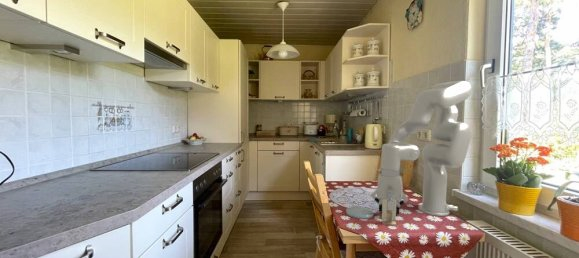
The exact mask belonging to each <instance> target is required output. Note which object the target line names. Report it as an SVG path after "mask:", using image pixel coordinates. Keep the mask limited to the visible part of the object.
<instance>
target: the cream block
mask: <svg viewBox="0 0 579 258" xmlns="http://www.w3.org/2000/svg"><path fill="white" fill-rule="evenodd" d="M386 216H387V199H382V214H381V220H386ZM396 219H397V216H396V200H395V211H392V221H395V222H396V221H397V220H396Z"/></svg>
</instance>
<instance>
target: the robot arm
mask: <svg viewBox="0 0 579 258" xmlns="http://www.w3.org/2000/svg"><path fill="white" fill-rule="evenodd" d="M471 94H472V86H471V83H470V82H469V81H466V80H457V81H456V80H455V81H447V82H441V83H436V84H434V85H433V86H432V87H431V89H426V90H425V89H424V90H423V91H421V92H419V94H418V95H417V96H416V99H415V102H414V104H413V107H412V108H411V111H410V113H409V115H408V117H407V119H406V120H405V121H404V122H403V123H401V124H400V125H399V126H398V127H396V129H395V130H394V131H393V133H392V134H391V137H390V138H389V141H388V143H384V144H382V146H381V162H380V163H381V165H380V168H377V173H380V174H379V175H378V178H377V186H376V189H375V190H374V191H373V192H372V193H371V194H370V197H371V198H372V199H373V200H374V201H375V202H376V203H377V204H378V212H379V213H380V215H382V199H387V190H393V191H394V198H395V200H396V217H398V215H400V208H401V206H403V205H404V204H405V203H407V202H408V201H409V197H408V196H407V195H406V194H405V192H403V188H404V186H403V178H402V176H401V175H400V173H401V161H403V162H413V161H416V160H417V159H418V158H419V157H420V154H421V157H422V162H423V163H422V164H423V180H422V181H423V182H422V183H423V185H422V204H420V205H418V210H419V211H420V212H422V213H425V214H427V215H430V216H438V217H446V216H449V215H450V211H455V212H458V211H459V208H458V206H456V205H454V204H448V203H447V187H448V186H447V185H448V183H447V182H448V173H447V169H446V167H447V168H453V169H458V168H460V167H461V166H462V165H463V164H464V163H465V159H466V157H467V153H468V150H469V146H470V142H471V138H472V129H471V127H470V125H469V124H468V123H466V122H463V121H458V117H459V109H458V107H457V105H458V104H459V103H461V102H464V101H466V100H467V99H469V98H470V96H471ZM436 109H437V110H436ZM435 110H436V111H437V112H436V117H435V120H434V122H433V123H434V124H433V126H432V131H431V137H432V139H433V140H434V141H437V142H441V143H435V142H434V143H427V144H426V145H425V146H424V147H423V149H422V151H421V150H420V148H419V147H418V146H417V145H416V144H414V143H407V142H405V141H406V139H407V138H408V137H409V136H410V135H412V134H414V133H416V132H419V131H421V130H424V129H426V128H427V127H428V126H429V123H430V121H431V118H432V116H433V115H434V111H435ZM444 143H450V144H444Z"/></svg>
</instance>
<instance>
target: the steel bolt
mask: <svg viewBox="0 0 579 258" xmlns="http://www.w3.org/2000/svg"><path fill="white" fill-rule="evenodd" d="M387 210H391V211H395V198H394V191H393V190H387Z"/></svg>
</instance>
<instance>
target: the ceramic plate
mask: <svg viewBox="0 0 579 258" xmlns="http://www.w3.org/2000/svg"><path fill="white" fill-rule="evenodd" d="M345 214H346V215H347V216H348V217H350V218H353V219H358V220H370V219H373V218H374V217H375V212H374V211H373V210H372V209H371V208H367V207H364V206H349V207H347V208H346V209H345Z"/></svg>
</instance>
